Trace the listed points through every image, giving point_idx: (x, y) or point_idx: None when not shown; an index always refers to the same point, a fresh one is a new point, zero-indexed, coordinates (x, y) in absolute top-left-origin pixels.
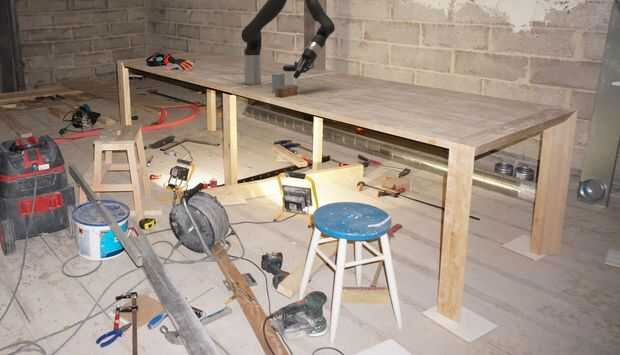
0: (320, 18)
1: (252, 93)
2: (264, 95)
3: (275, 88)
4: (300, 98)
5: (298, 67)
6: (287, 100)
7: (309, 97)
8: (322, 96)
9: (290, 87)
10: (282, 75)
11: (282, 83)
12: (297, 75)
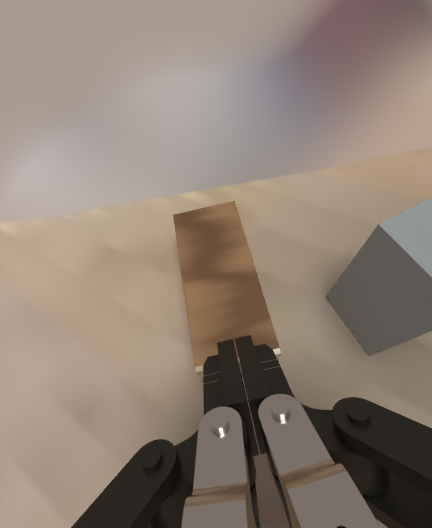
0: None
1: (373, 171)
2: (287, 198)
3: (228, 204)
4: (91, 320)
5: (294, 460)
6: (101, 238)
7: (73, 390)
8: (24, 514)
9: (184, 289)
10: (416, 281)
11: (374, 308)
12: (205, 371)
